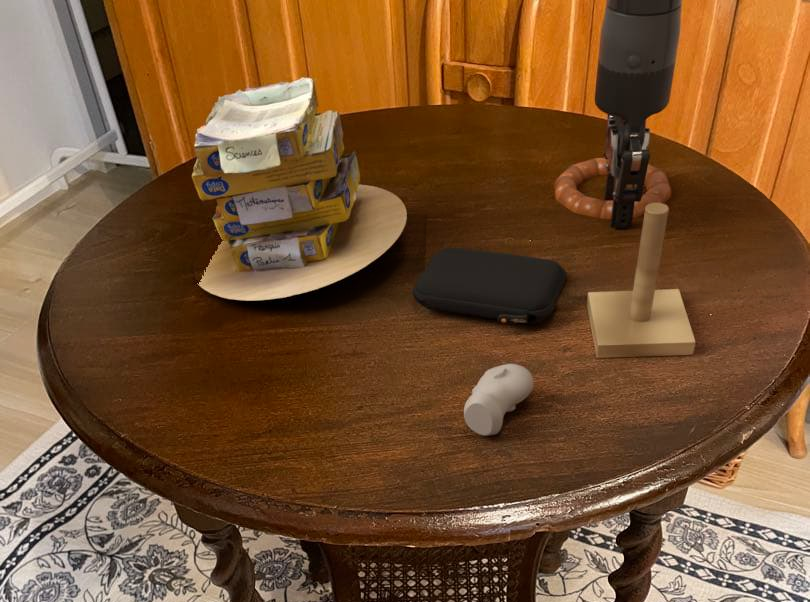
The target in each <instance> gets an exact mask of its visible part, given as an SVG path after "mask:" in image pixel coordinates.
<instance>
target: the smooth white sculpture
mask: <svg viewBox="0 0 810 602" xmlns="http://www.w3.org/2000/svg"><path fill="white" fill-rule="evenodd" d="M533 388H534V378H533V375H532V373H531V372H530V371H529V370H528V368H526V367H524V366H522V365H520V364H517V363H506V364H501V365H498V366H494V367H492V368H489V369H487V370H486V371H485V372H484V373H483V375H482V376H481V377H480V379H478V382H477V383H476V385H475V386H474V387H473V388H472V390H471V395H470V396H469V397H468V399H467V400H466V401H465V404H464V408H463V415H464V416H463V417H464V422H465V424H466V425H467V426H468V428H469V429H470V430H472V431H473V432H474V433H476V434H478V435H480V436H495V435H496V434H498V433H499V432H500V431H501V430H502V426H503V423H504V416H505V415H506V413H508V412H512V411H515V410H516V407H517V406H516V405H518V404H519V403H521V402H523V401H524V400H525V399H527V398H528V397H529V395H530V394H531V393H532V391H533Z"/></svg>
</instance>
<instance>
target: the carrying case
mask: <svg viewBox="0 0 810 602" xmlns="http://www.w3.org/2000/svg"><path fill="white" fill-rule="evenodd" d="M567 279H568V275H567V272H566V270H565V269H564V268H563V267H562V265H560V263H558V262H557V261H555V260H552V259H546V258H541V257H533V256H526V255H520V254H519V255H518V254H512V253H504V252H496V251H488V250H480V249H474V248H473V249H472V248H464V247H455V246H447V247H442V248H441V249H440V250H438V251H437V252H436V253H435V254H433V256H432V257H431V258H430V260H429V262H428V263H427V264H426V266H425V267H424V270H423V271H422V273H421V274H420V276H419V277H418V278H417V280H416V282H415V284H413V287H412V297H413V298H414V300H415V301H416V302H417V303H418V304H419V305H421V306H422V307H424V308H426V309H431V310H435V311H442V312H447V313H453V314H460V315H467V316H472V317H478V318H485V319H486V318H487V319H492V320H497V322H498V323H499V324H501V325H510V324H512V325H513V324H529V325H535V324H539V323H541V322H543V321H544V320H545V319H546V318H548V317H549V316H551V314H552V313H553V312H554V310H555V308H556V305H557V303H558V301H559V299H560V296H561V294H562V291H563V289H564V287H565V284H566V282H567Z"/></svg>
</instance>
